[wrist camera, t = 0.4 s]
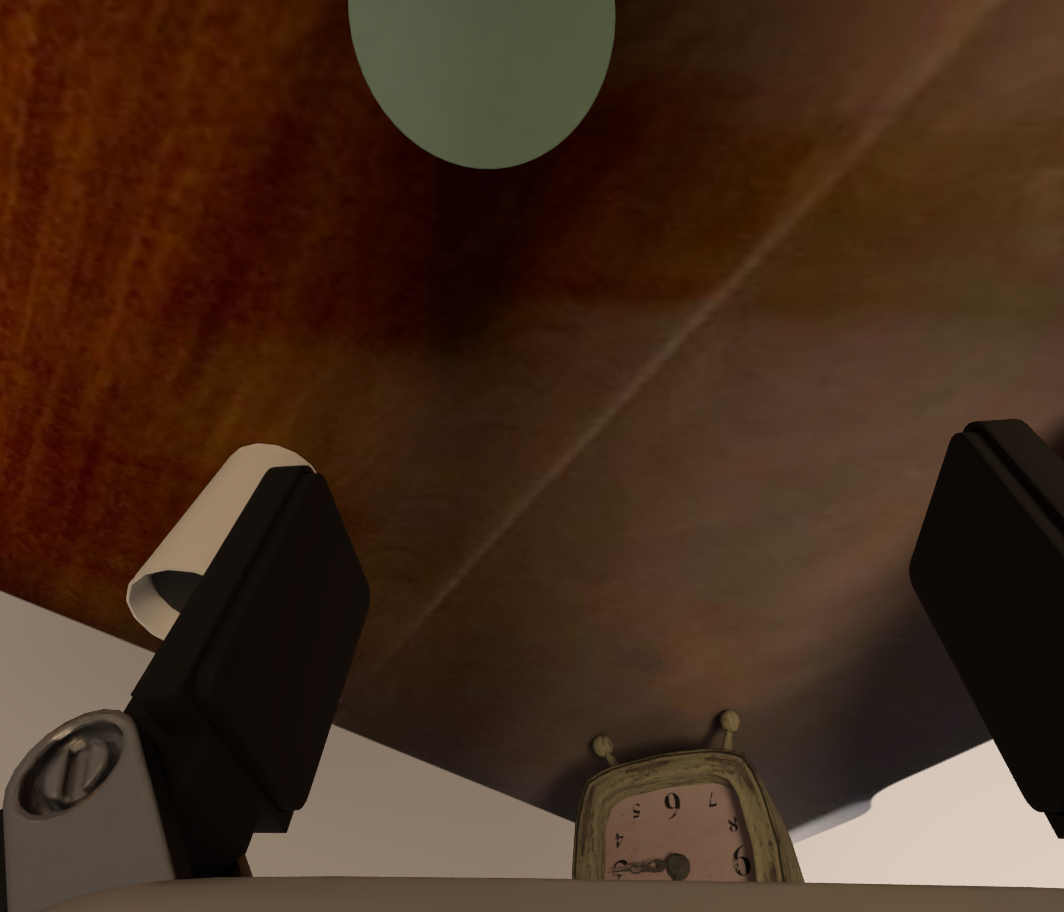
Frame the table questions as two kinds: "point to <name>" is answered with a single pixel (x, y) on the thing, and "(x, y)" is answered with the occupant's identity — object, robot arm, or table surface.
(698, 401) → the table surface
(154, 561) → the white cup
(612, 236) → the table surface
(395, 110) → the lid
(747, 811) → the tabletop clock
